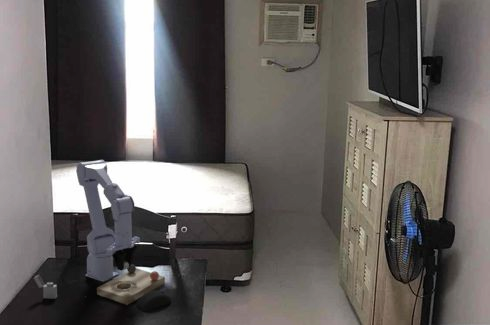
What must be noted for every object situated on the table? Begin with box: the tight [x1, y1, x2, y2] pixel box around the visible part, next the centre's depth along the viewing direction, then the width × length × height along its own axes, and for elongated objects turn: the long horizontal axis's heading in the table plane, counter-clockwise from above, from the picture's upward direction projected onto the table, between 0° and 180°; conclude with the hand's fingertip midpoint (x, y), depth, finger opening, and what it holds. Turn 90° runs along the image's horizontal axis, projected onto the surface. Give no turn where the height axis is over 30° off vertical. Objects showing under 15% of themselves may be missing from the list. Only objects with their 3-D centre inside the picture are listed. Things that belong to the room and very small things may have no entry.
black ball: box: [126, 263, 137, 273], centre depth 196 cm, size 3×3×3 cm
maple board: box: [96, 267, 166, 306], centre depth 189 cm, size 14×20×2 cm
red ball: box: [150, 270, 160, 280], centre depth 190 cm, size 3×3×3 cm
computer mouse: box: [135, 289, 172, 312], centre depth 178 cm, size 6×11×4 cm, turn 131°
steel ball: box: [122, 260, 129, 271], centre depth 183 cm, size 3×3×3 cm
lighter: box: [33, 274, 58, 300], centre depth 180 cm, size 7×2×8 cm, turn 90°
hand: (124, 267), depth 184 cm, fingers closed on steel ball, 3 cm apart
